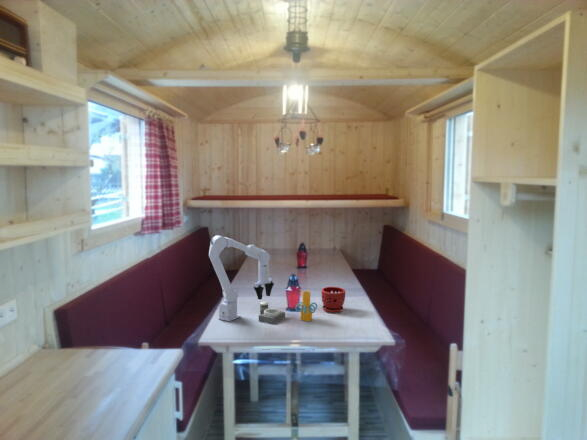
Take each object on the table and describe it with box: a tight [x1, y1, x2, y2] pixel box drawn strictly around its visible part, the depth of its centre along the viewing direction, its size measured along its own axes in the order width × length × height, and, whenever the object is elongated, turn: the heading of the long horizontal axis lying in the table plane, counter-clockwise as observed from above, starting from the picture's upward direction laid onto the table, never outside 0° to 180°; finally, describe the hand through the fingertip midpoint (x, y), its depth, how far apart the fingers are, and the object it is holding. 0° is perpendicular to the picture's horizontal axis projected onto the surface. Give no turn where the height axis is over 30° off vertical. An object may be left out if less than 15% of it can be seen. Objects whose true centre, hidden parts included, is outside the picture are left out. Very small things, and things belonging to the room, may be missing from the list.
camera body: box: [258, 308, 286, 325], centre depth 226 cm, size 12×8×4 cm
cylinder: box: [294, 289, 318, 322], centre depth 225 cm, size 12×10×15 cm
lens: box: [259, 301, 269, 315], centre depth 235 cm, size 5×5×6 cm
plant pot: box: [321, 286, 346, 314], centre depth 240 cm, size 13×13×12 cm
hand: (264, 297), depth 235 cm, fingers open, 7 cm apart
